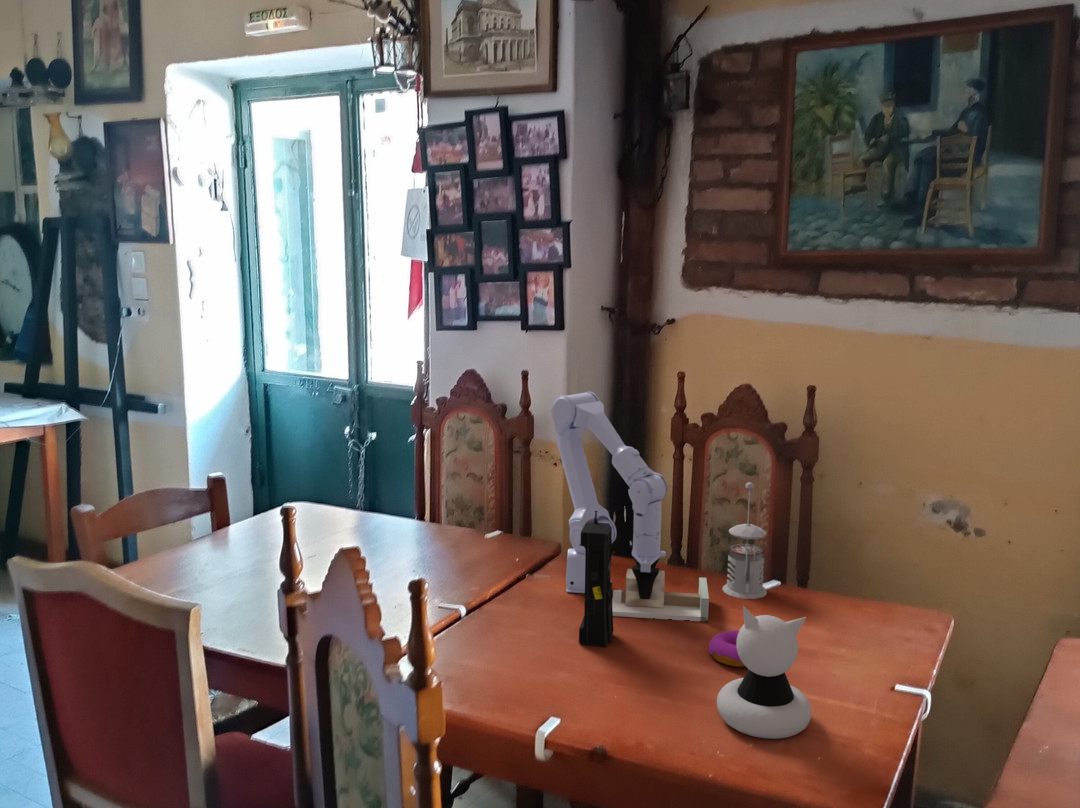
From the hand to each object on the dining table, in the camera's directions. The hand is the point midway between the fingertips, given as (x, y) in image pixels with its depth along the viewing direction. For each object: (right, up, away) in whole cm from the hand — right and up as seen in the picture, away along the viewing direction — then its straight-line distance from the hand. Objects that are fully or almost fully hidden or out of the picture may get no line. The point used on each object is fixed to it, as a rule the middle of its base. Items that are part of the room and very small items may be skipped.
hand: (645, 592), depth 189 cm
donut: (+14, -8, -23) cm, 28 cm away
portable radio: (-11, -6, -16) cm, 20 cm away
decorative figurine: (+14, -11, -45) cm, 48 cm away
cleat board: (+3, -3, 0) cm, 4 cm away
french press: (+23, -2, +9) cm, 25 cm away
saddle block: (0, -2, 0) cm, 2 cm away
